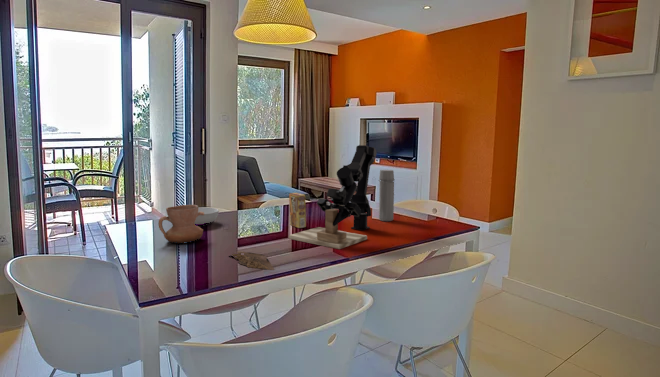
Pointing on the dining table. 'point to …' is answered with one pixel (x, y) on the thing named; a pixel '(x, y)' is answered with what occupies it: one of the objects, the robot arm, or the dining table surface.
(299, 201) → the candy box
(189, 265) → the dining table surface
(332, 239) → the block
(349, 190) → the robot arm
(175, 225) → the ceramic jug
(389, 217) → the water bottle
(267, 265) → the wooden fragment
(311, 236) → the birch board
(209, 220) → the serving bowl
